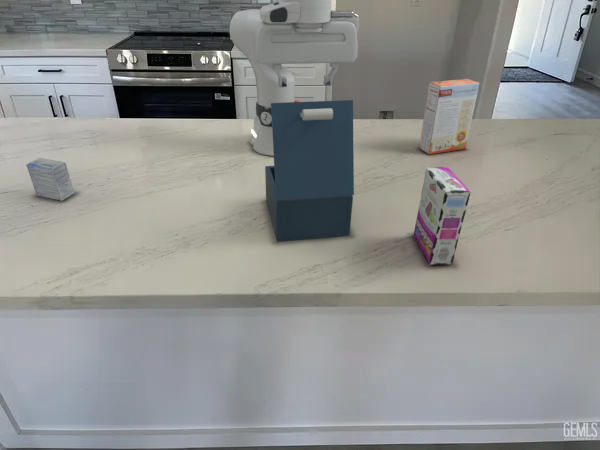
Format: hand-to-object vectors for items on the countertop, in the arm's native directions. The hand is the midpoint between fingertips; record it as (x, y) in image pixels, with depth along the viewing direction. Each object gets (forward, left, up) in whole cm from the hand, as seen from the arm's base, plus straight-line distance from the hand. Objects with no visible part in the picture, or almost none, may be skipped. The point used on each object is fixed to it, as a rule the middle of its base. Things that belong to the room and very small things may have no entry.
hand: (305, 85), depth 90 cm
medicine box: (+23, -57, -29) cm, 68 cm away
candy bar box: (+2, +31, -29) cm, 43 cm away
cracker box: (-56, +21, -29) cm, 67 cm away
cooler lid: (+7, +6, -10) cm, 14 cm away
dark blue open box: (+3, +2, -29) cm, 29 cm away
